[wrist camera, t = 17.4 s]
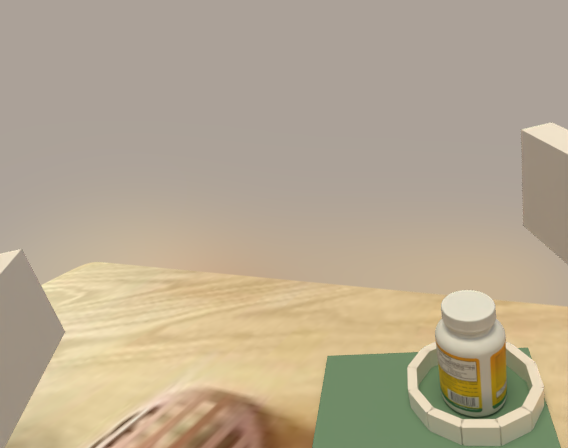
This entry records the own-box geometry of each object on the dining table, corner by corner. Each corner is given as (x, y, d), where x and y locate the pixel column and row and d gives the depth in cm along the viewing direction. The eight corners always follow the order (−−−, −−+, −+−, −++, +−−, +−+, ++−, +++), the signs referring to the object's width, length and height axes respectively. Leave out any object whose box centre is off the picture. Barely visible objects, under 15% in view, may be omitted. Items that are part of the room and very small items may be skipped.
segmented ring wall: (411, 445, 41) (408, 427, 40) (408, 354, 50) (406, 338, 49) (557, 446, 38) (557, 427, 37) (526, 349, 47) (525, 332, 46)
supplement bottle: (455, 425, 41) (446, 334, 37) (432, 379, 46) (421, 294, 42) (520, 410, 41) (517, 316, 37) (490, 365, 46) (485, 278, 42)
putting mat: (306, 494, 39) (305, 490, 39) (328, 359, 52) (327, 355, 52) (577, 504, 34) (577, 499, 34) (528, 351, 47) (527, 347, 47)
